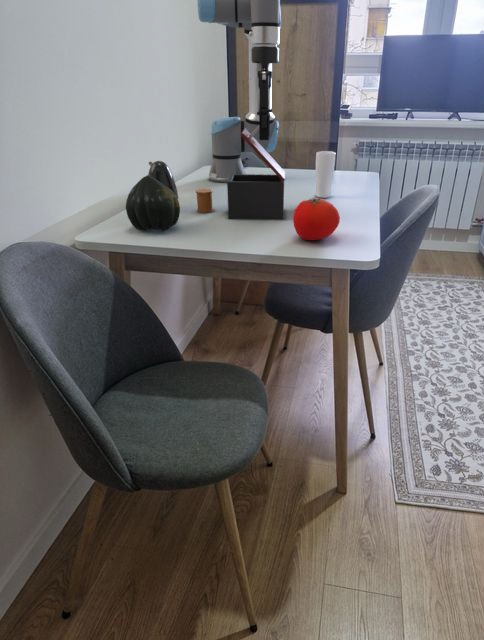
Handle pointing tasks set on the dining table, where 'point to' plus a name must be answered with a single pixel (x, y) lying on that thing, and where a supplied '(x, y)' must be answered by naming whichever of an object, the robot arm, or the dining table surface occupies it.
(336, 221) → the tomato
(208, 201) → the orange tapered cylinder
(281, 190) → the black storage bin
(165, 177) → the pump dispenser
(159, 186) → the squash
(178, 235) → the dining table surface
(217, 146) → the robot arm
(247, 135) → the lid
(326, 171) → the drinking glass
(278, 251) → the dining table surface
